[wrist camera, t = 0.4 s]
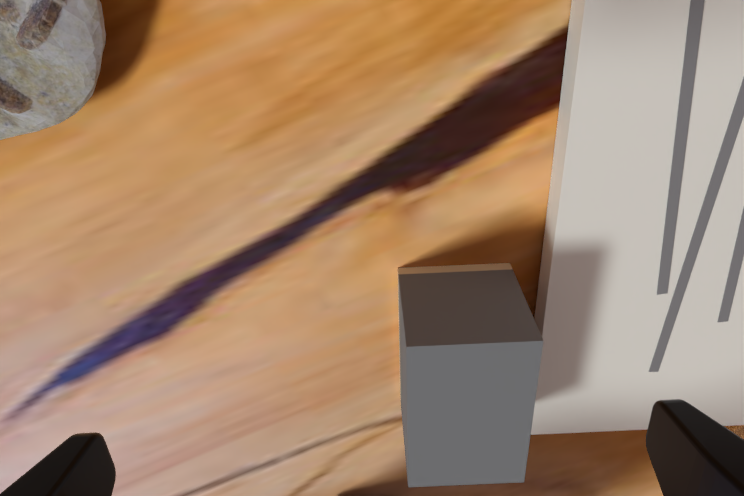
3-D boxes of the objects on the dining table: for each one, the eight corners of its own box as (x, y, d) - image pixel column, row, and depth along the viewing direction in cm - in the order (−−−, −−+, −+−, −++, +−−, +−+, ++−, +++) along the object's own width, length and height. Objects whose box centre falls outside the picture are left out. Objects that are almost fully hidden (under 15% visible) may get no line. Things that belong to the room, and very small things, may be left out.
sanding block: (497, 390, 27) (523, 482, 23) (400, 394, 27) (408, 487, 23) (509, 261, 23) (543, 340, 19) (397, 266, 23) (406, 346, 19)
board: (756, 404, 27) (772, 424, 26) (523, 415, 27) (529, 435, 26) (962, -124, 17) (1003, -126, 16) (584, -104, 17) (599, -105, 16)
